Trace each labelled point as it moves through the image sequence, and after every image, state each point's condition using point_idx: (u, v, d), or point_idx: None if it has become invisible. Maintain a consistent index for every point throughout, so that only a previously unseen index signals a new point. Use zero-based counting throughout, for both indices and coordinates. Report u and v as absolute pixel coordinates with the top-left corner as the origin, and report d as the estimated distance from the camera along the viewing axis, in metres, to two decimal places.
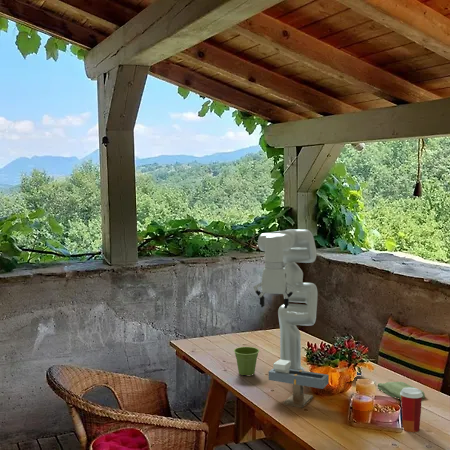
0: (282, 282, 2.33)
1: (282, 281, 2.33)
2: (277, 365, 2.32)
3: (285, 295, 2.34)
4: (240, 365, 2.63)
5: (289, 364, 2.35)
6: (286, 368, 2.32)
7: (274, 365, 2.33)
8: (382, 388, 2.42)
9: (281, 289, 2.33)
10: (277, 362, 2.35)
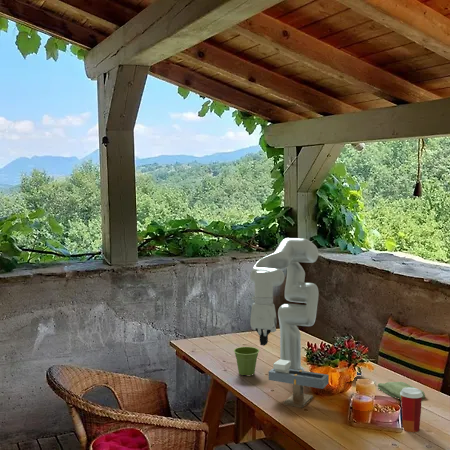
0: None
1: None
2: (277, 365, 2.32)
3: None
4: (240, 365, 2.63)
5: (289, 364, 2.35)
6: (286, 368, 2.32)
7: (274, 365, 2.33)
8: (382, 388, 2.42)
9: None
10: (277, 362, 2.35)
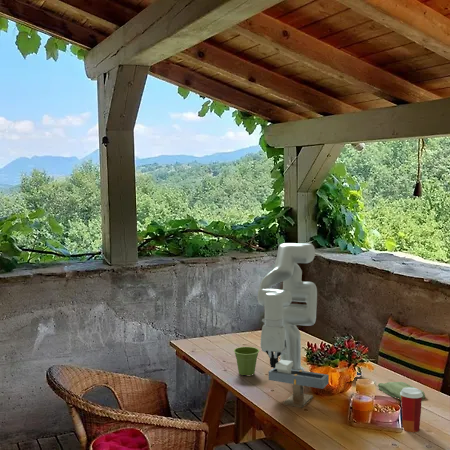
0: None
1: None
2: (279, 365, 2.32)
3: None
4: (240, 364, 2.63)
5: (291, 364, 2.35)
6: (288, 368, 2.32)
7: (276, 365, 2.33)
8: (382, 388, 2.42)
9: None
10: (279, 362, 2.34)
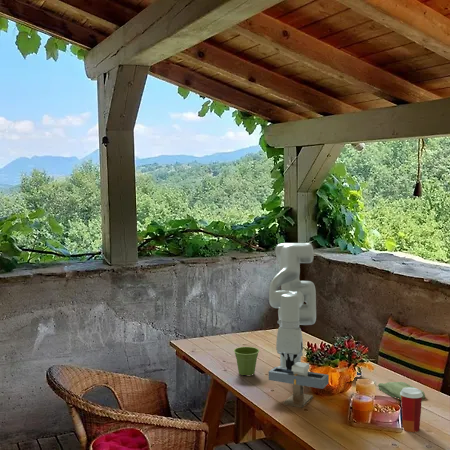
0: None
1: None
2: (296, 368, 2.29)
3: None
4: (240, 365, 2.63)
5: (308, 367, 2.31)
6: (305, 371, 2.29)
7: (292, 368, 2.29)
8: (382, 388, 2.42)
9: None
10: (295, 365, 2.31)
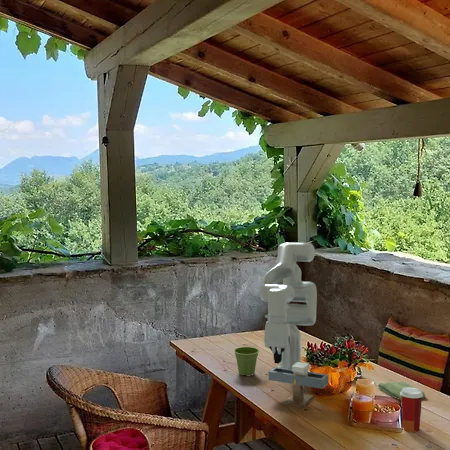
0: None
1: None
2: (296, 368, 2.29)
3: None
4: (240, 365, 2.63)
5: (308, 367, 2.31)
6: (305, 371, 2.29)
7: (293, 368, 2.29)
8: (382, 388, 2.42)
9: None
10: (295, 365, 2.31)
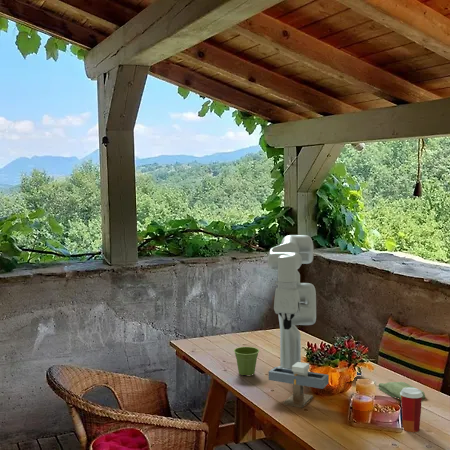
0: None
1: None
2: (296, 368, 2.29)
3: None
4: (240, 364, 2.63)
5: (308, 367, 2.31)
6: (305, 371, 2.29)
7: (293, 368, 2.29)
8: (383, 388, 2.42)
9: None
10: (295, 365, 2.31)
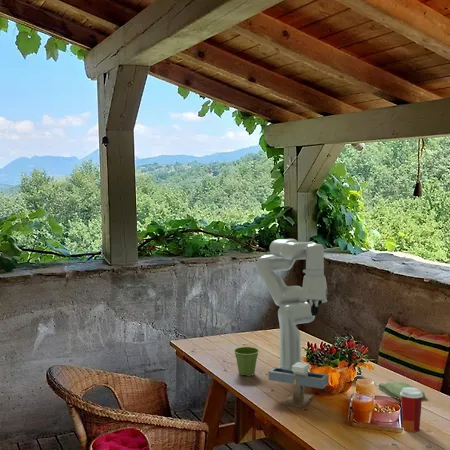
0: None
1: None
2: (296, 368, 2.29)
3: None
4: (240, 364, 2.63)
5: (308, 367, 2.31)
6: (305, 371, 2.29)
7: (293, 368, 2.29)
8: (383, 388, 2.42)
9: None
10: (295, 365, 2.31)
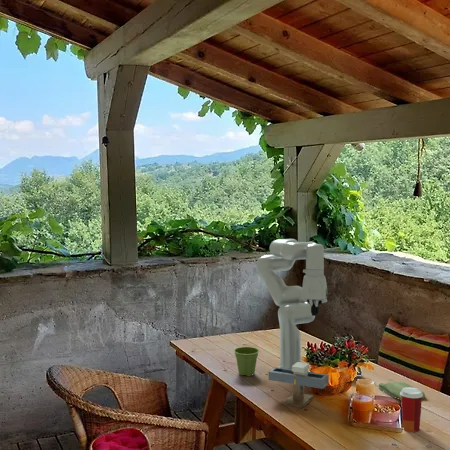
0: None
1: None
2: (296, 368, 2.29)
3: None
4: (240, 364, 2.63)
5: (308, 367, 2.31)
6: (305, 371, 2.29)
7: (293, 368, 2.29)
8: (383, 388, 2.42)
9: None
10: (295, 365, 2.31)
